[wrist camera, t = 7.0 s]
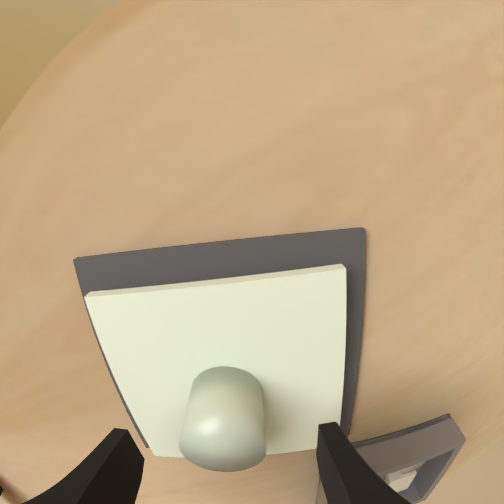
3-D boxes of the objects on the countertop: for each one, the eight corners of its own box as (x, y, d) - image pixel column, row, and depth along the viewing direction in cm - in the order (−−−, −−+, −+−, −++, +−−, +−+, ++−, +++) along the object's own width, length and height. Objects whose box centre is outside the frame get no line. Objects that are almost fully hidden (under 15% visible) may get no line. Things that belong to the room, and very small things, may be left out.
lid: (159, 439, 15) (142, 499, 11) (97, 285, 12) (41, 336, 8) (332, 427, 15) (350, 490, 10) (336, 257, 12) (381, 308, 8)
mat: (147, 443, 16) (146, 447, 16) (77, 257, 12) (73, 260, 12) (346, 432, 16) (348, 436, 15) (362, 227, 12) (365, 229, 12)
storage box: (315, 504, 19) (319, 530, 16) (322, 449, 16) (330, 483, 13) (415, 478, 19) (425, 499, 16) (448, 413, 16) (466, 439, 13)
